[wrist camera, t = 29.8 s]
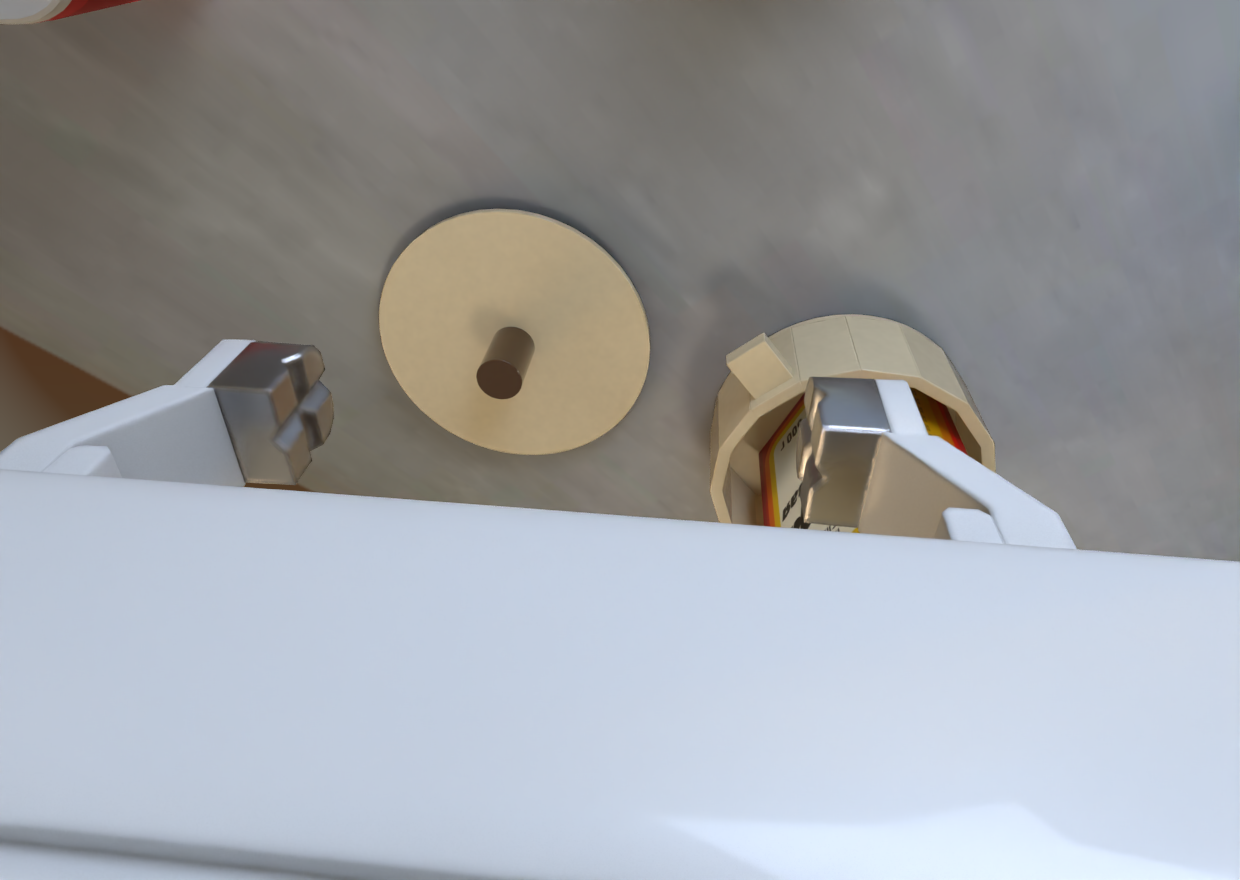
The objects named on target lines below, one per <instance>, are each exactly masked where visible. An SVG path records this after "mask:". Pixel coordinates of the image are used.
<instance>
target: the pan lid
mask: <svg viewBox="0 0 1240 880" xmlns="http://www.w3.org/2000/svg"><path fill="white" fill-rule="evenodd" d="M379 328H380V334H381V340H382V345H383V348H384V351H385V355H386V358H387V360H388V362H389V365H390V367H391V369H392V371H393V373H394V375H395V377H396V378H397V380H398V382H399V383H400V385H401V387H402V388H403V389H404V391H405V392H406V393H407V395H408V396H409V397H410V398H411V400H412V401H413V402H414V403H415V404H416V405H417V406H418V407H419V408H420V409H421V410H422V411H423V412H424V413H425V414H426V415H428V416H429V417H430V418H431V419H432V420H434V421H435V422H436V423H437V424H439V425H440V426H442V427H443V428H445V429H446V430H448V431H449V432H451V433H453V434H455V435H457V436H459V437H460V438H462V439H464V440H467V441H469V442H472V443H474V444H476V445H479V446H482V447H485V448H489V449H492V450H495V451H501V452H506V453H511V454H522V455H543V454H551V453H559V452H563V451H567V450H571V449H574V448H577V447H579V446H582V445H585V444H587V443H589V442H591V441H593V440H595V439H597V438H599V437H600V436H602V435H603V434H605V433H606V432H607V431H609V430H610V429H612V428H613V427H614V426H615V425H616V424H617V423H618V422H619V421H620V420H621V419H622V418H624V416H625V415H626V414H627V413H628V411H629V410H630V409H631V407H632V406H633V405H634V403H635V401H636V399H637V398H638V396H639V394H640V392H641V390H642V387H643V384H644V382H645V379H646V375H647V371H648V366H649V360H650V332H649V326H648V321H647V317H646V313H645V310H644V307H643V305H642V302H641V299H640V297H639V295H638V293H637V291H636V289H635V287H634V286H633V284H632V282H631V280H630V279H629V277H628V276H627V275H626V273H625V272H624V271H623V269H622V268H621V267H620V265H619V264H618V263H617V262H616V261H615V260H614V259H613V258H612V257H611V256H610V255H609V254H608V253H607V252H606V251H605V250H604V249H603V248H602V247H600V246H599V245H598V244H597V243H595V242H594V241H593V240H592V239H590V238H589V237H587V236H586V235H584V234H582V233H581V232H579V231H578V230H576V229H574V228H572V227H570V226H568V225H566V224H564V223H562V222H560V221H558V220H555V219H552V218H549V217H546V216H543V215H540V214H536V213H531V212H526V211H521V210H511V209H486V210H477V211H472V212H467V213H462V214H459V215H456V216H453V217H451V218H448V219H445V220H443V221H441V222H439V223H437V224H435V225H434V226H432V227H430V228H428V229H427V230H426V231H424V232H423V233H422V234H420V235H419V236H418V237H416V238H415V239H414V240H413V241H412V242H411V243H410V244H409V245H408V246H407V247H406V248H405V249H404V251H403V252H402V253H401V255H400V256H399V257H398V259H397V260H396V262H395V263H394V265H393V266H392V268H391V270H390V272H389V274H388V277H387V279H386V281H385V284H384V288H383V291H382V294H381V301H380V308H379Z"/></svg>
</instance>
